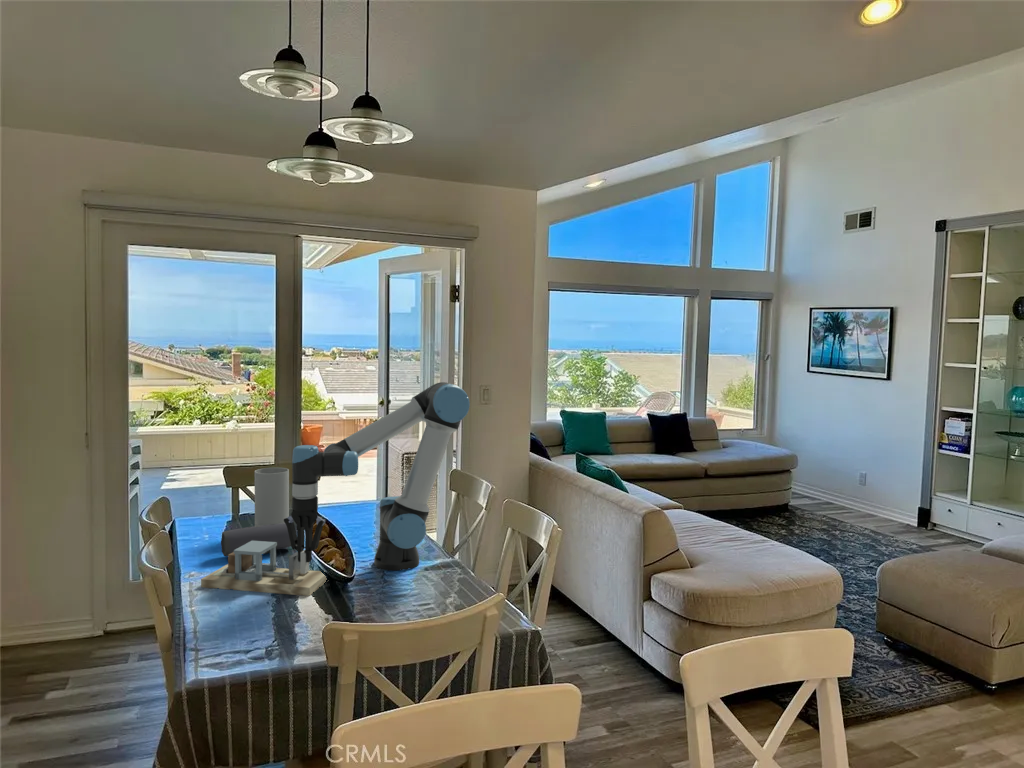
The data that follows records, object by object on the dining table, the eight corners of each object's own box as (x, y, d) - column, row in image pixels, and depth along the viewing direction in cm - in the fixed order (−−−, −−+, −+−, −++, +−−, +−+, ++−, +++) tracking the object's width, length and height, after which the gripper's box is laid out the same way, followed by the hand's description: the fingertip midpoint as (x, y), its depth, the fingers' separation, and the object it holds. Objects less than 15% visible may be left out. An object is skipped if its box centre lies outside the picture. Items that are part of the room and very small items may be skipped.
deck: (329, 579, 213) (329, 571, 213) (309, 595, 200) (309, 587, 199) (227, 571, 219) (227, 563, 218) (201, 587, 205) (201, 578, 205)
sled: (302, 573, 211) (302, 551, 210) (292, 580, 204) (292, 558, 204) (232, 568, 214) (232, 546, 214) (220, 575, 208) (220, 552, 207)
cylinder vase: (295, 533, 263) (295, 470, 261) (268, 540, 253) (268, 475, 251) (274, 528, 270) (274, 466, 268) (247, 535, 259) (247, 471, 258)
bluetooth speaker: (287, 545, 248) (287, 518, 247) (294, 552, 240) (294, 524, 239) (220, 555, 235) (220, 527, 234) (225, 563, 227) (225, 534, 227)
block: (251, 568, 212) (251, 551, 212) (243, 573, 207) (243, 556, 207) (237, 567, 213) (236, 550, 213) (228, 572, 208) (228, 554, 208)
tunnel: (277, 570, 214) (277, 542, 213) (260, 581, 204) (260, 552, 203) (252, 568, 215) (251, 540, 215) (233, 579, 205) (233, 550, 204)
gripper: (330, 494, 208) (329, 569, 210) (290, 492, 210) (290, 566, 211) (320, 500, 201) (319, 577, 202) (279, 497, 203) (278, 574, 204)
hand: (304, 571), depth 207 cm, fingers closed
